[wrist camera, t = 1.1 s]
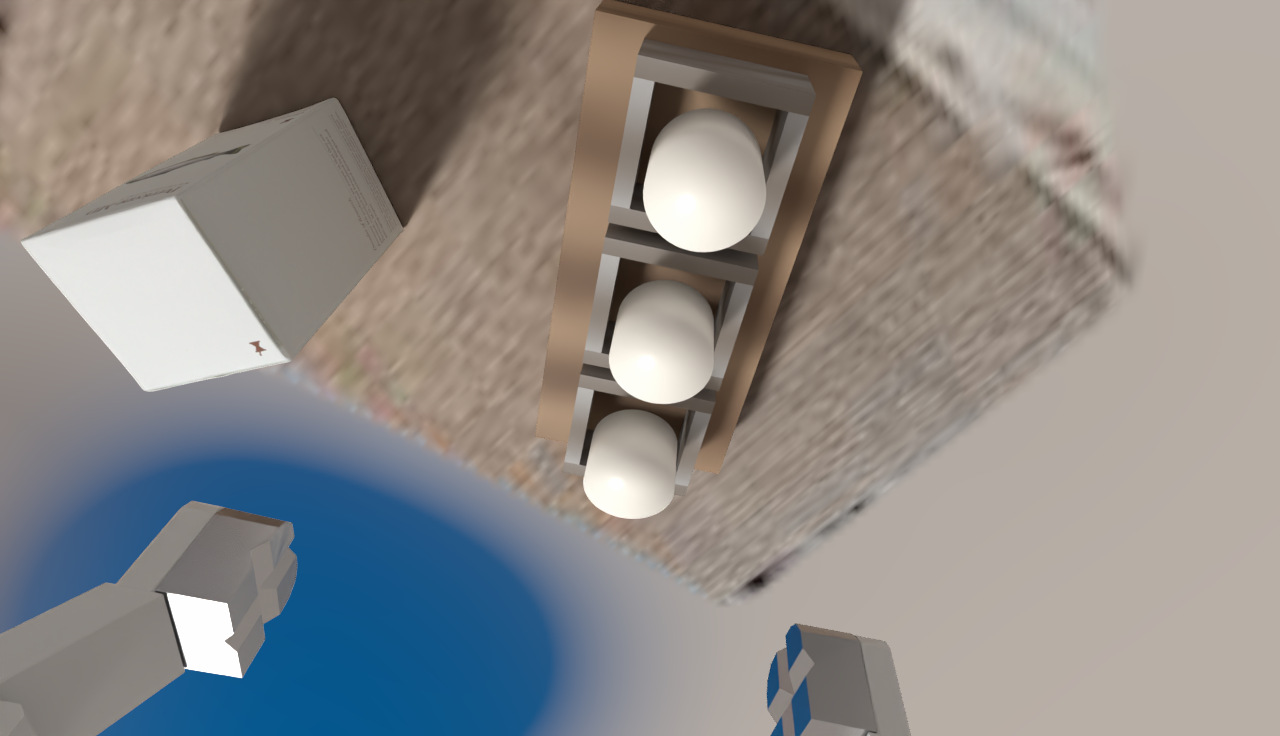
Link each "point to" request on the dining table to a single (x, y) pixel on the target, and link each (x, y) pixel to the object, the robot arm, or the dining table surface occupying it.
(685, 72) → the knob mount
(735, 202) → the knob near
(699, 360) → the knob middle
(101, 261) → the supplement box
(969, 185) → the dining table surface
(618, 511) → the knob far
